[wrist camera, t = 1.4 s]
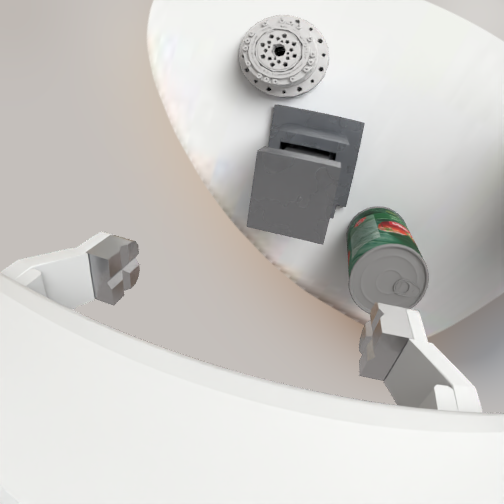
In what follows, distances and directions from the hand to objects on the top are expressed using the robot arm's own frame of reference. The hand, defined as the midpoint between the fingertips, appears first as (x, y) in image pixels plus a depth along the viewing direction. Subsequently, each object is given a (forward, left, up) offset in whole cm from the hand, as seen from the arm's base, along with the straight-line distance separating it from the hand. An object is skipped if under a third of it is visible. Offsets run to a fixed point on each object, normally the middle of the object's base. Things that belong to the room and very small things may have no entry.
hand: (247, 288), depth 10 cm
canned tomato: (-10, +8, -29) cm, 31 cm away
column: (0, 0, -27) cm, 27 cm away
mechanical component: (+5, -11, -29) cm, 31 cm away
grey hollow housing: (0, 0, -28) cm, 28 cm away
